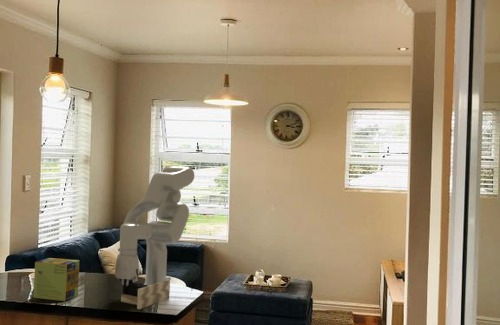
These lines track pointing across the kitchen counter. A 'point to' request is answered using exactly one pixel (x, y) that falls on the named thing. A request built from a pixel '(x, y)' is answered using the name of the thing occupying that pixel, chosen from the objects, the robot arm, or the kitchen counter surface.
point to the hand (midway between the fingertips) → (126, 294)
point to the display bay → (149, 294)
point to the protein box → (56, 279)
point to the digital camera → (135, 288)
